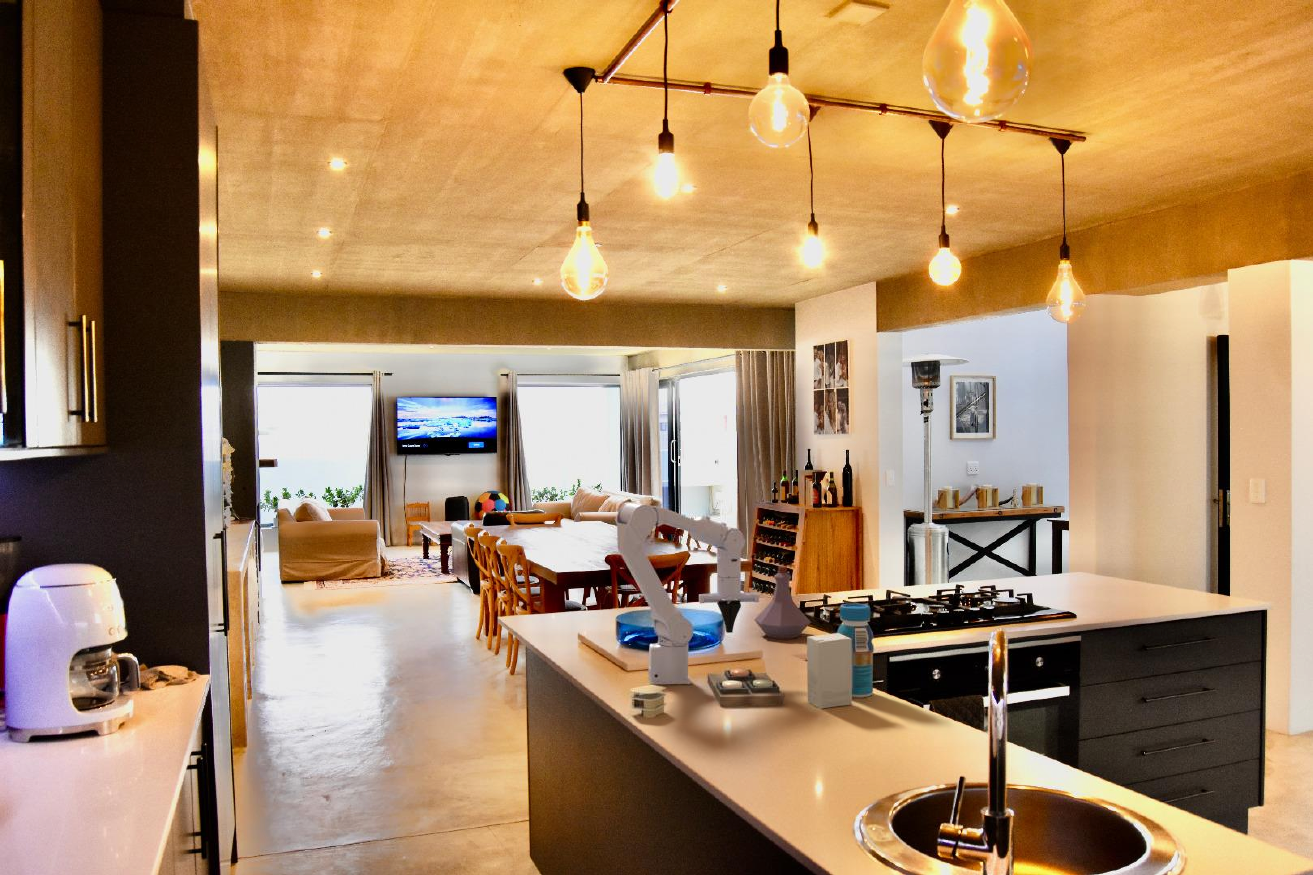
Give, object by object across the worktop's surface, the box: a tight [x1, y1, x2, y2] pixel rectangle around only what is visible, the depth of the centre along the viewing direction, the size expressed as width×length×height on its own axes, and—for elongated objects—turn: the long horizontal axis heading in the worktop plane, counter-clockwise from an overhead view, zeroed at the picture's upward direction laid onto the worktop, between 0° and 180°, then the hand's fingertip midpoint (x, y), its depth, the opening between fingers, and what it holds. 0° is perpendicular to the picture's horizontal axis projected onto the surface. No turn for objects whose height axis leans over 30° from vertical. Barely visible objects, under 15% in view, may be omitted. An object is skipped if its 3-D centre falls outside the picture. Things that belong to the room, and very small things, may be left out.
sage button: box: [753, 680, 773, 688], centre depth 220 cm, size 4×4×1 cm
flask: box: [753, 565, 811, 640], centre depth 286 cm, size 16×16×20 cm
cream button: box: [722, 681, 742, 689], centre depth 218 cm, size 4×4×1 cm
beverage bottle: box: [836, 602, 875, 699], centre depth 223 cm, size 8×8×20 cm
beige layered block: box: [629, 684, 667, 719], centre depth 207 cm, size 10×9×6 cm
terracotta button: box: [730, 668, 749, 676], centre depth 229 cm, size 4×4×1 cm
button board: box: [707, 669, 785, 707], centre depth 223 cm, size 14×20×3 cm
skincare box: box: [806, 632, 853, 710], centre depth 215 cm, size 8×6×15 cm
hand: (729, 631), depth 240 cm, fingers closed
